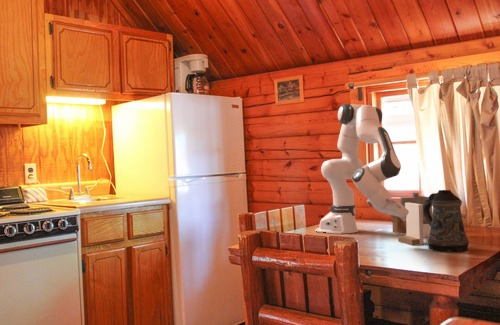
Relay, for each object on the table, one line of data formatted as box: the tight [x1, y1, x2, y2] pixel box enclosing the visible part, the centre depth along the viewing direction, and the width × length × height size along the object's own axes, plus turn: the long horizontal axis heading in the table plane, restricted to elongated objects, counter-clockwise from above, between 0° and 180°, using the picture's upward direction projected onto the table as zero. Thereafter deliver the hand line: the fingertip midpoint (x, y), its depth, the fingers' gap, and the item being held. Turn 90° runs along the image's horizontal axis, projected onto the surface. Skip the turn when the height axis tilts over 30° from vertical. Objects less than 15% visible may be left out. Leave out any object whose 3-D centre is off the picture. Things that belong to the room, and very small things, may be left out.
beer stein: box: [423, 189, 470, 254], centre depth 214 cm, size 16×19×25 cm
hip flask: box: [399, 191, 433, 218], centre depth 263 cm, size 16×4×20 cm, turn 82°
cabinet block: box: [392, 216, 406, 235], centre depth 220 cm, size 4×4×11 cm
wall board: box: [397, 203, 424, 246], centre depth 229 cm, size 10×6×18 cm, turn 18°
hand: (400, 219), depth 220 cm, fingers closed on cabinet block, 4 cm apart
